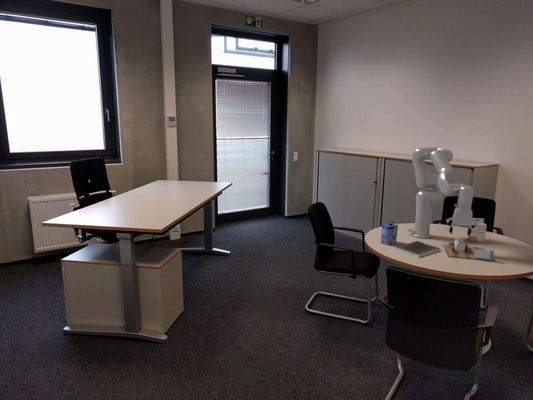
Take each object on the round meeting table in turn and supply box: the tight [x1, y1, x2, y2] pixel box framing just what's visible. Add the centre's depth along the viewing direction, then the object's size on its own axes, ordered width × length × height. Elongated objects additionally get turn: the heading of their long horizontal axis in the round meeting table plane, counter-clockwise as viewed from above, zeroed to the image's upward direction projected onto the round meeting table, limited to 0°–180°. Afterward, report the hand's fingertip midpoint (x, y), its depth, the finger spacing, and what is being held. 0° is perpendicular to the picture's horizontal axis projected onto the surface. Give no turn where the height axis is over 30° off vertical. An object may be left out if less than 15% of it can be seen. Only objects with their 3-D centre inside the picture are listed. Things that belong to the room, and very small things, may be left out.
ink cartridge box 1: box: [380, 221, 399, 246], centre depth 251 cm, size 10×6×14 cm, turn 123°
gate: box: [473, 249, 495, 260], centre depth 222 cm, size 10×2×5 cm, turn 74°
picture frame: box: [395, 240, 441, 258], centre depth 239 cm, size 16×2×22 cm
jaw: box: [453, 238, 465, 252], centre depth 237 cm, size 4×7×6 cm, turn 165°
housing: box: [442, 241, 495, 262], centre depth 234 cm, size 24×22×5 cm
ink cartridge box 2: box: [467, 217, 487, 243], centre depth 258 cm, size 9×5×15 cm, turn 84°
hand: (459, 234), depth 236 cm, fingers open, 9 cm apart
